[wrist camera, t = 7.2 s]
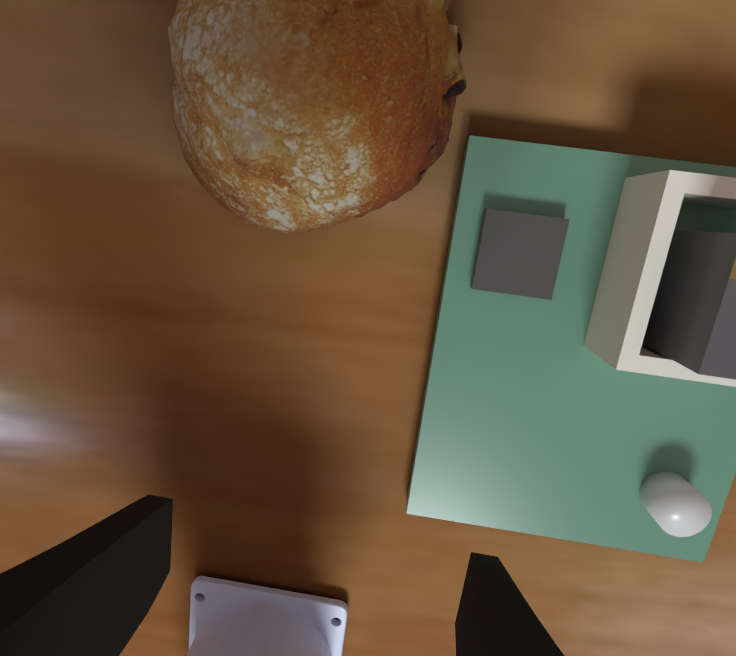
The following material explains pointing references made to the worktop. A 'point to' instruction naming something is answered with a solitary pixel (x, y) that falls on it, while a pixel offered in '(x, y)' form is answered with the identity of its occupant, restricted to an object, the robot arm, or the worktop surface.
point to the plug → (697, 304)
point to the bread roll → (312, 103)
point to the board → (561, 368)
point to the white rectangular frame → (646, 268)
